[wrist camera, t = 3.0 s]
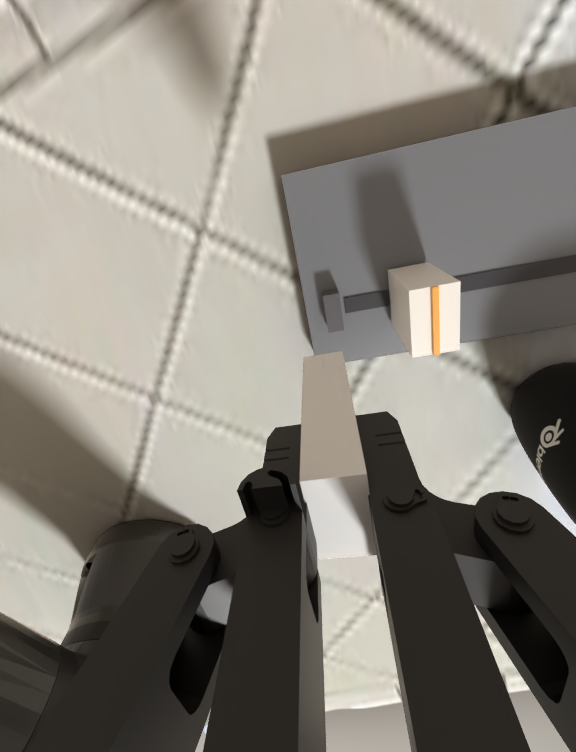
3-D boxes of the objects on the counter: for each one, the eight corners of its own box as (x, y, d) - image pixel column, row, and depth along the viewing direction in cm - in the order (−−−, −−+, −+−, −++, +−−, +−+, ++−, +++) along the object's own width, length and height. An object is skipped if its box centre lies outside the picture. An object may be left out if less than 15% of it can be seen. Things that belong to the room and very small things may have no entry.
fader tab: (391, 325, 24) (413, 359, 19) (387, 269, 22) (409, 291, 17) (429, 319, 23) (461, 351, 19) (428, 262, 22) (462, 282, 17)
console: (315, 355, 27) (317, 378, 24) (283, 176, 22) (279, 174, 19) (792, 274, 23) (873, 289, 20) (895, 33, 18) (1028, -2, 15)
